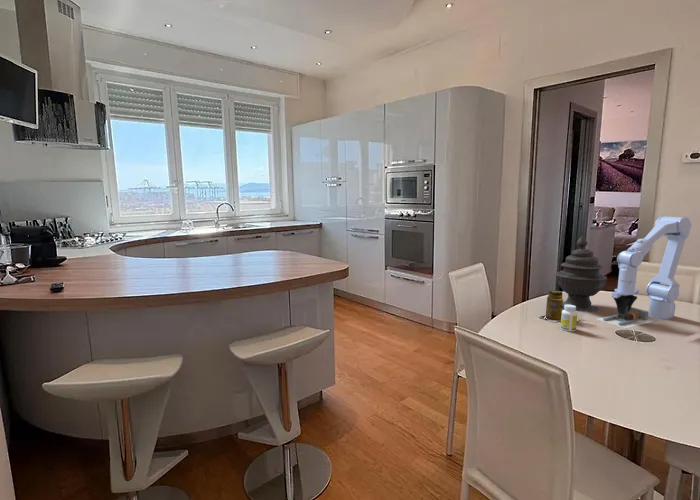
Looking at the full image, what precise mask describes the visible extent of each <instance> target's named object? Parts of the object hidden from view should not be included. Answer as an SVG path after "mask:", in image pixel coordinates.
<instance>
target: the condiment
mask: <svg viewBox="0 0 700 500" xmlns="http://www.w3.org/2000/svg"><path fill="white" fill-rule="evenodd" d="M563 302H564V298H563V291H561V290H557V289H556V290H555V289H553V290H549V291H548V295H547V297H546V310H545V315H542V316H539V317H538V318H539V319H542V320H545V319H546V318H547V320H546V321H548V322H551V323H556V322H561V316H562V311H563V308H562V304H563ZM545 316H546V318H545V319H544V317H545ZM554 320H555V321H554Z"/></svg>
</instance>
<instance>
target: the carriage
mask: <svg viewBox="0 0 700 500" xmlns="http://www.w3.org/2000/svg"><path fill="white" fill-rule="evenodd" d="M628 310H629V306H626V310H625V313H624V314H621V313H618V312H617V314H618V316H617V317H615V320H619V321H622V322H624V321H629V320H633V319H635V314H632V313H628Z"/></svg>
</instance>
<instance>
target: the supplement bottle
mask: <svg viewBox="0 0 700 500" xmlns="http://www.w3.org/2000/svg"><path fill="white" fill-rule="evenodd" d="M564 309H565V310H564ZM564 309H562V316H561V321H560V329H561V330H562V331H565V332H569V333H570V332H572V333H573V332H576V331H577V323H578V311H575V310H576V306H574V305H568V304H567V305H564Z"/></svg>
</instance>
